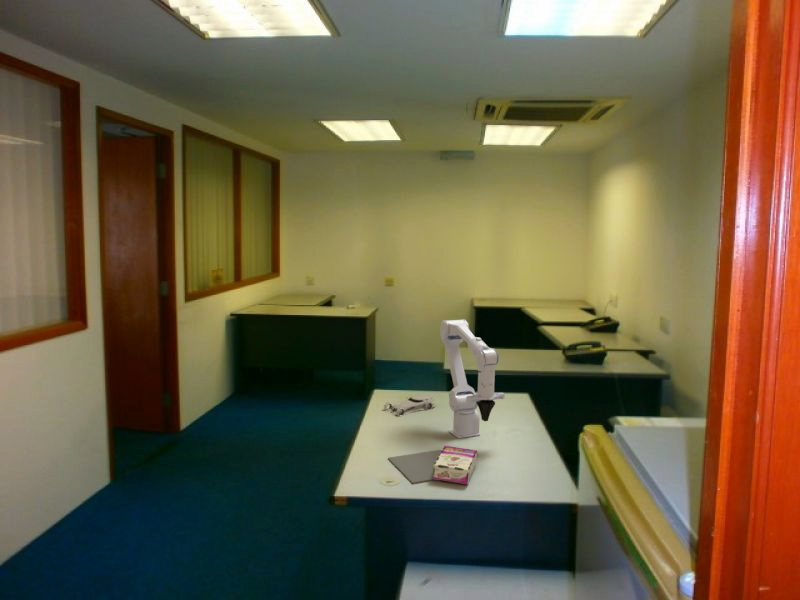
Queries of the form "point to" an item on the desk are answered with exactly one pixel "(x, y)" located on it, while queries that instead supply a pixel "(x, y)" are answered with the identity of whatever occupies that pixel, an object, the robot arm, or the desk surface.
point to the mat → (417, 465)
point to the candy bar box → (455, 465)
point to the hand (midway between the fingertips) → (484, 420)
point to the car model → (411, 405)
